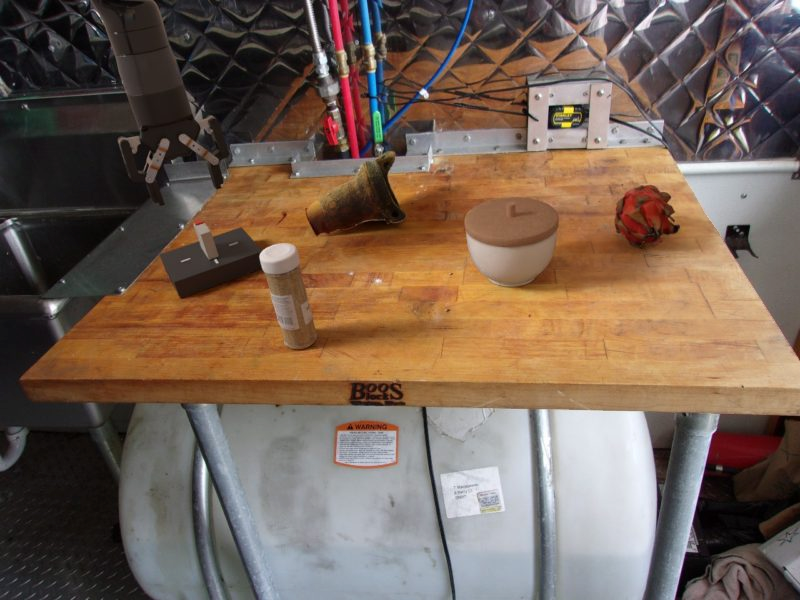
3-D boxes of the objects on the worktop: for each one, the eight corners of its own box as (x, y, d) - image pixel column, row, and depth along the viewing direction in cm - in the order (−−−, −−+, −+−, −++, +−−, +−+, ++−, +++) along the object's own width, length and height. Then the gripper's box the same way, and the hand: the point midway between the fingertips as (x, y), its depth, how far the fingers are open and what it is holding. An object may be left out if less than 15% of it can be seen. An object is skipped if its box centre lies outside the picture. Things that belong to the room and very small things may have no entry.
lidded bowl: (550, 302, 78) (553, 228, 71) (458, 293, 82) (453, 222, 75) (560, 254, 87) (564, 185, 81) (477, 249, 91) (474, 182, 85)
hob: (180, 298, 89) (173, 281, 87) (165, 269, 97) (158, 253, 95) (267, 267, 94) (262, 250, 92) (245, 242, 102) (241, 226, 100)
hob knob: (219, 256, 92) (210, 229, 89) (209, 260, 91) (200, 233, 89) (211, 244, 96) (202, 218, 93) (201, 248, 95) (192, 221, 93)
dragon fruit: (635, 226, 95) (651, 274, 86) (594, 202, 92) (606, 249, 84) (676, 188, 89) (698, 235, 81) (634, 162, 87) (651, 208, 78)
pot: (289, 169, 104) (381, 123, 101) (318, 209, 113) (403, 168, 110) (305, 236, 93) (407, 187, 91) (336, 274, 102) (429, 231, 100)
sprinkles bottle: (325, 338, 76) (304, 248, 69) (296, 355, 74) (272, 265, 66) (304, 325, 79) (282, 237, 72) (276, 341, 77) (251, 253, 69)
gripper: (102, 102, 74) (146, 218, 83) (212, 77, 79) (243, 189, 88) (95, 91, 79) (137, 201, 88) (198, 69, 85) (228, 175, 94)
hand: (190, 195), depth 88 cm, fingers open, 8 cm apart
